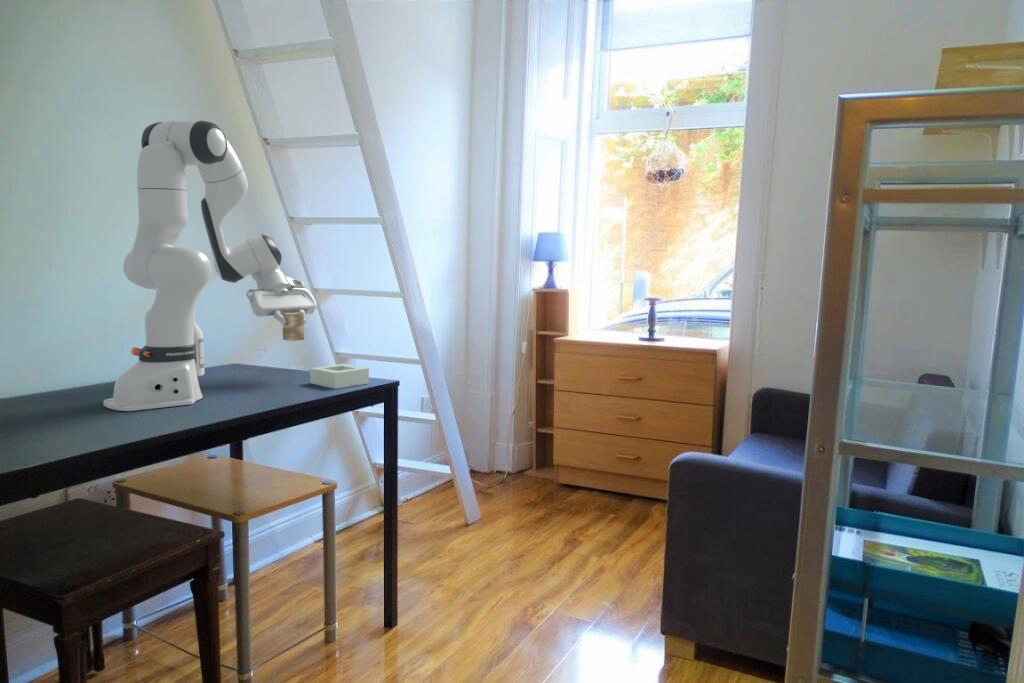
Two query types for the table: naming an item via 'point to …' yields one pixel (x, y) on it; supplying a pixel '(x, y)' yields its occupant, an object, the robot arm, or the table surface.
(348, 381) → the socket block
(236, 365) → the table surface
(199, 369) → the bath foam
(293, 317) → the birch peg
